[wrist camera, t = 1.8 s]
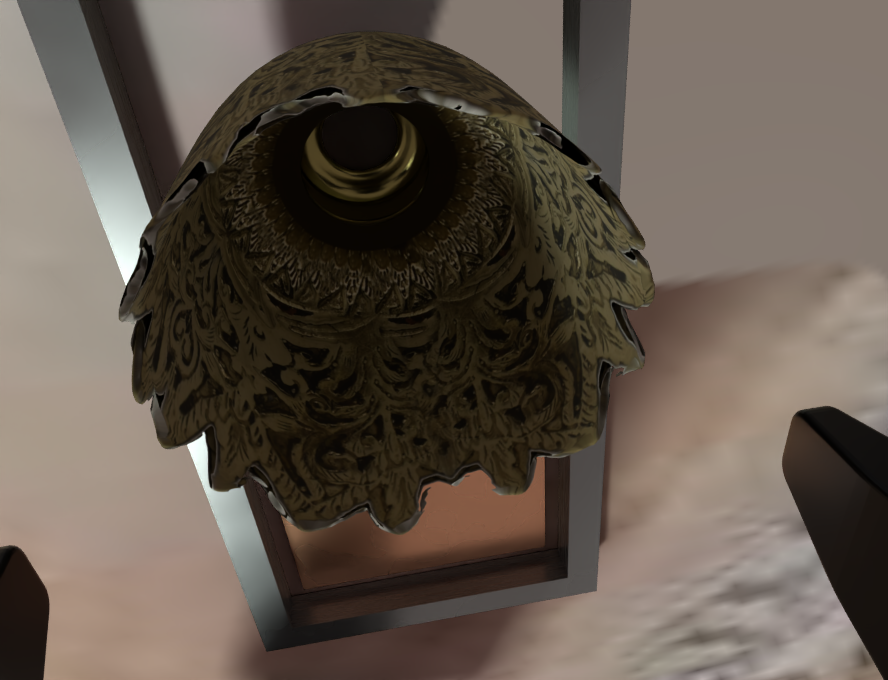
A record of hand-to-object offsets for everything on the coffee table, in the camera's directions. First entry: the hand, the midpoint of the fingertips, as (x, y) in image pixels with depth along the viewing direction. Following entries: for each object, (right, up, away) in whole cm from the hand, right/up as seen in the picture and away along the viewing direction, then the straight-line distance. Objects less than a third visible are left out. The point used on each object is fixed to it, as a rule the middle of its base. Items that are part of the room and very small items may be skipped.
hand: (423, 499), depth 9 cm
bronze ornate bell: (-2, +6, +8) cm, 11 cm away
